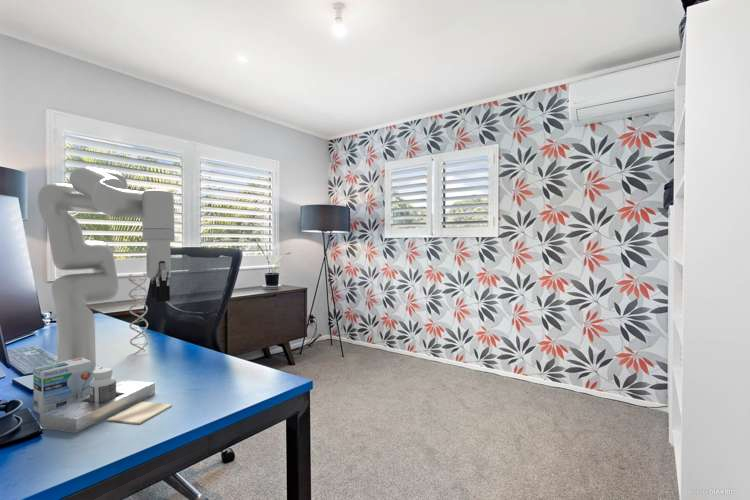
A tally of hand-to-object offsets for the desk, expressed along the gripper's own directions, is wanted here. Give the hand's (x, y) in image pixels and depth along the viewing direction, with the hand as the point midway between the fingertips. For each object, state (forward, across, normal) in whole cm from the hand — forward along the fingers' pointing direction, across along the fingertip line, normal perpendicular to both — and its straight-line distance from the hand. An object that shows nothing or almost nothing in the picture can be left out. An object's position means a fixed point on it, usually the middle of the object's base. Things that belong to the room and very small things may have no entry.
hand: (160, 299), depth 104 cm
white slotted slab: (+26, +2, -13) cm, 29 cm away
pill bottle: (+26, +2, -13) cm, 29 cm away
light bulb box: (+26, -7, -21) cm, 34 cm away
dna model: (+26, -50, -1) cm, 57 cm away
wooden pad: (+26, +10, -6) cm, 28 cm away
